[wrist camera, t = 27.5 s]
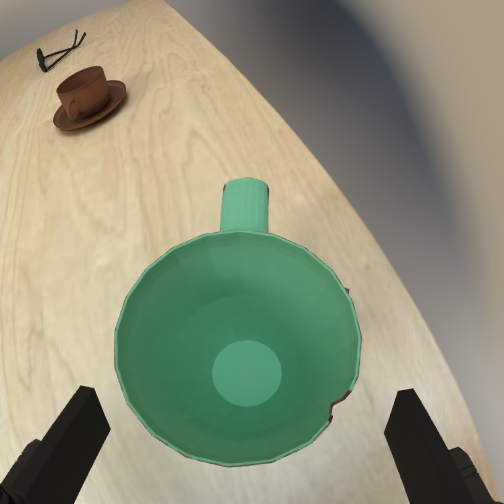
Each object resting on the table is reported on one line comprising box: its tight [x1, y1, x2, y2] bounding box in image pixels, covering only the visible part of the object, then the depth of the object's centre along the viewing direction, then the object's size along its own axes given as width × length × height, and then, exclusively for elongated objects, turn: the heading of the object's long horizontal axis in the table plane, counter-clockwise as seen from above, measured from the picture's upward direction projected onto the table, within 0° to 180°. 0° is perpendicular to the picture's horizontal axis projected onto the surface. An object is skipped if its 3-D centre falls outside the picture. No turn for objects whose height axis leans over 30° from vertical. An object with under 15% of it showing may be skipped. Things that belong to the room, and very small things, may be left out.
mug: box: [114, 178, 362, 467], centre depth 17 cm, size 15×10×10 cm
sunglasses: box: [37, 29, 86, 72], centre depth 55 cm, size 17×14×5 cm
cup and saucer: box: [53, 66, 126, 130], centre depth 35 cm, size 12×12×6 cm
